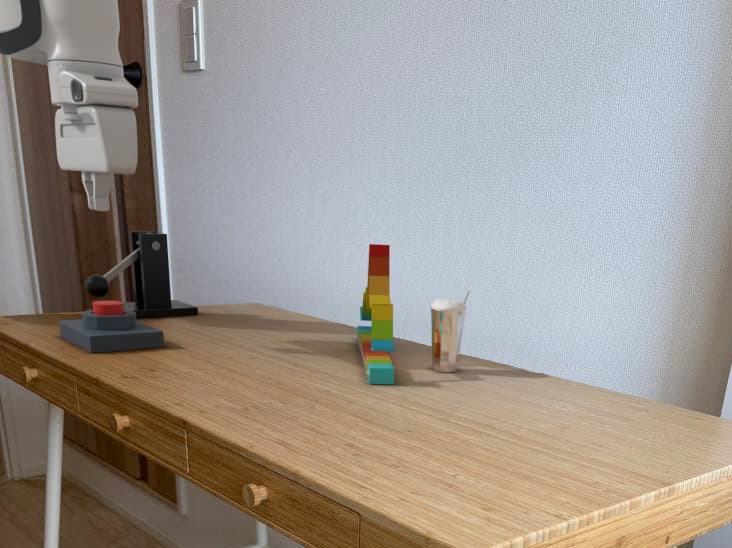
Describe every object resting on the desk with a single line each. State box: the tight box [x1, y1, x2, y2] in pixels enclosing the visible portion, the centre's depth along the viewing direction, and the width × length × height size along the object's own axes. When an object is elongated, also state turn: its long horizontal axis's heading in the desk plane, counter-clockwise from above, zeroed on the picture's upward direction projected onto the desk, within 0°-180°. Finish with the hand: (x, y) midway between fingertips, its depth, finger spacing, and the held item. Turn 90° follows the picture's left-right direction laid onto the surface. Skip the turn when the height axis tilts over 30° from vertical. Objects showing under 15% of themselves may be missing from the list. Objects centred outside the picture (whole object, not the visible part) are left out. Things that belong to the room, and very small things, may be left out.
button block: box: [58, 309, 165, 354], centre depth 115 cm, size 13×10×4 cm
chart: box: [355, 243, 396, 385], centre depth 111 cm, size 30×3×15 cm, turn 6°
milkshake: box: [430, 290, 471, 373], centre depth 107 cm, size 4×5×10 cm
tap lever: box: [85, 240, 140, 299], centre depth 135 cm, size 14×4×4 cm
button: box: [92, 300, 124, 315], centre depth 114 cm, size 4×4×2 cm
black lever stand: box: [123, 231, 199, 320], centre depth 138 cm, size 12×9×13 cm
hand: (99, 210), depth 109 cm, fingers closed
